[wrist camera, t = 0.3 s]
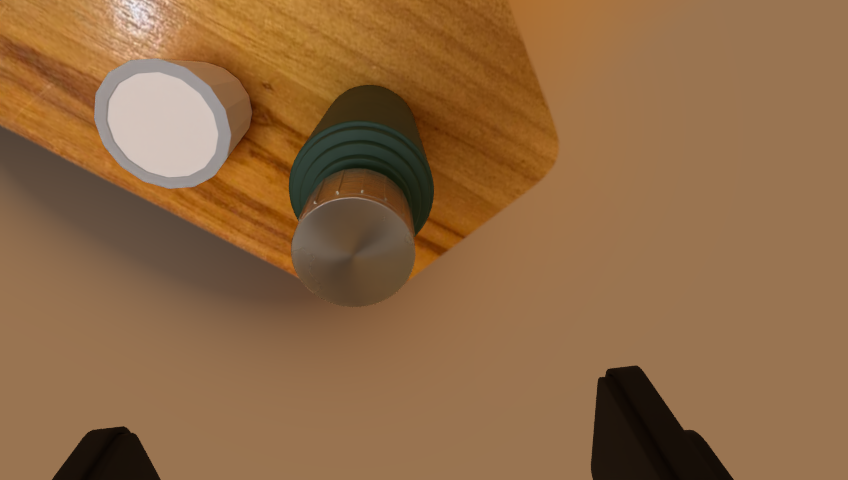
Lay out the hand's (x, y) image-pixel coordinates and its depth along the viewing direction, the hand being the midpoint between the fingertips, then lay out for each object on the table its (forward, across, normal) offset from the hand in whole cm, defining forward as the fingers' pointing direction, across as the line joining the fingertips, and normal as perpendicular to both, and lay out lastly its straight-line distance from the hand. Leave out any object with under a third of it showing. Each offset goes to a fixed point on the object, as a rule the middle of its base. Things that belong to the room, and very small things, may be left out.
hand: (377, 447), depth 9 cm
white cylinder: (+26, +12, -4) cm, 28 cm away
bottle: (+26, +1, -1) cm, 26 cm away
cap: (+10, +1, -1) cm, 10 cm away
